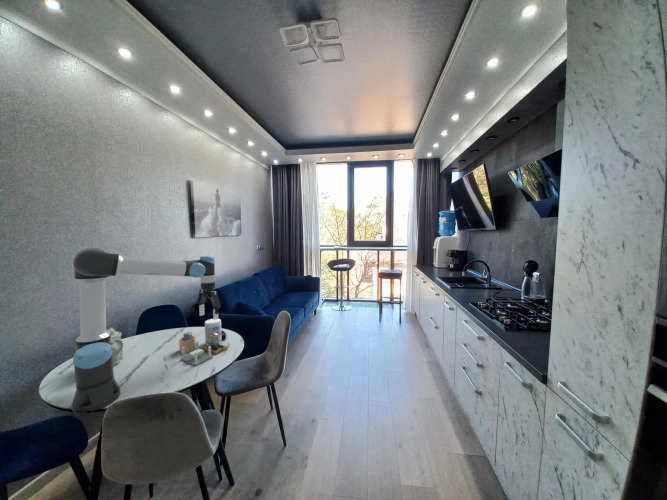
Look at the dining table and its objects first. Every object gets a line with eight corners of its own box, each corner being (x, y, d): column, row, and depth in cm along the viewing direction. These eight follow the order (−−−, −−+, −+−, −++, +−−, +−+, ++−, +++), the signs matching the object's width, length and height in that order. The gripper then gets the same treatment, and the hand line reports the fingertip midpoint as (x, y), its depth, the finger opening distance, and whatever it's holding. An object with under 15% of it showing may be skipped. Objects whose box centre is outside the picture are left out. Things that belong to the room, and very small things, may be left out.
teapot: (104, 374, 128) (101, 338, 126) (81, 371, 131) (77, 336, 129) (135, 358, 144) (133, 326, 142) (114, 355, 147) (111, 324, 145)
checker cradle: (195, 366, 134) (194, 353, 134) (181, 359, 141) (180, 347, 141) (212, 358, 143) (212, 346, 142) (198, 352, 150) (197, 340, 149)
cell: (213, 351, 150) (213, 334, 149) (209, 349, 152) (208, 333, 151) (220, 348, 154) (220, 332, 153) (216, 346, 156) (215, 330, 155)
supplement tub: (216, 346, 157) (215, 323, 156) (202, 346, 158) (201, 323, 157) (224, 340, 167) (223, 318, 166) (211, 339, 168) (210, 318, 167)
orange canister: (185, 353, 148) (184, 337, 147) (177, 350, 152) (176, 334, 151) (198, 348, 155) (197, 332, 154) (190, 345, 159) (189, 330, 158)
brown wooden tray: (215, 354, 146) (215, 352, 146) (203, 350, 152) (202, 347, 152) (227, 349, 153) (227, 346, 153) (215, 344, 159) (214, 342, 159)
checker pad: (193, 357, 138) (193, 354, 138) (189, 355, 140) (189, 353, 140) (203, 352, 143) (203, 350, 143) (199, 351, 145) (199, 348, 145)
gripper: (227, 283, 146) (227, 319, 147) (201, 279, 158) (202, 312, 160) (215, 285, 139) (216, 322, 140) (189, 280, 152) (190, 315, 153)
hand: (208, 317), depth 150 cm, fingers open, 13 cm apart
